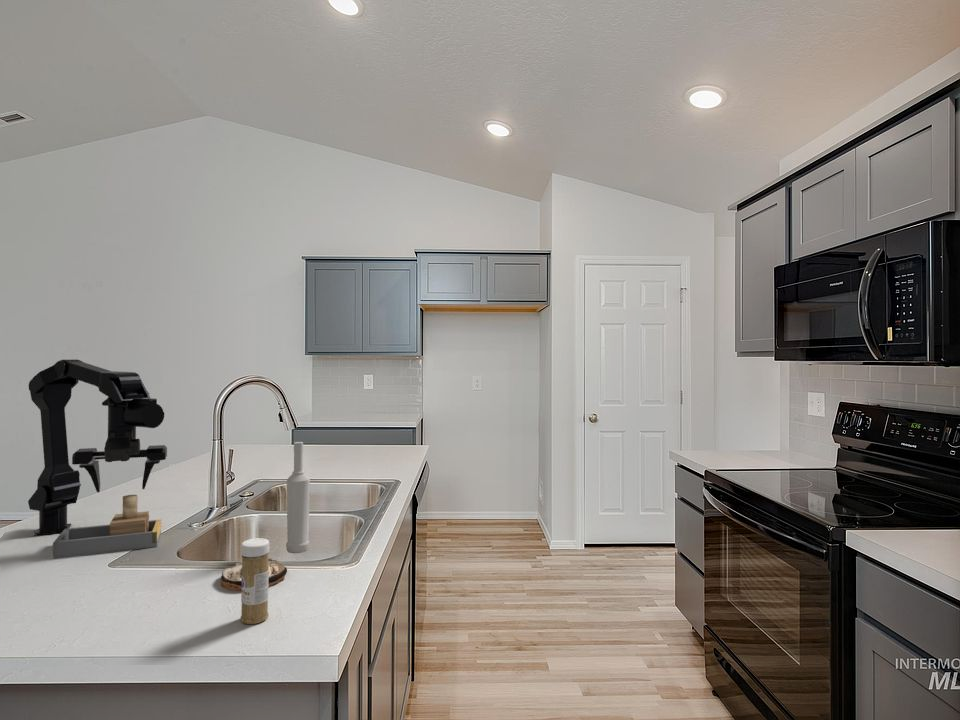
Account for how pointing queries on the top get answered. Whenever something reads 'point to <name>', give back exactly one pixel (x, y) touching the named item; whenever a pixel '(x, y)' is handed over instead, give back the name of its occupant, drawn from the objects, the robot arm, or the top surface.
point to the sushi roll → (234, 575)
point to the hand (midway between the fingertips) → (121, 490)
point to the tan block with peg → (129, 518)
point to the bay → (103, 540)
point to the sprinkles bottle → (254, 580)
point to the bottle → (298, 505)
